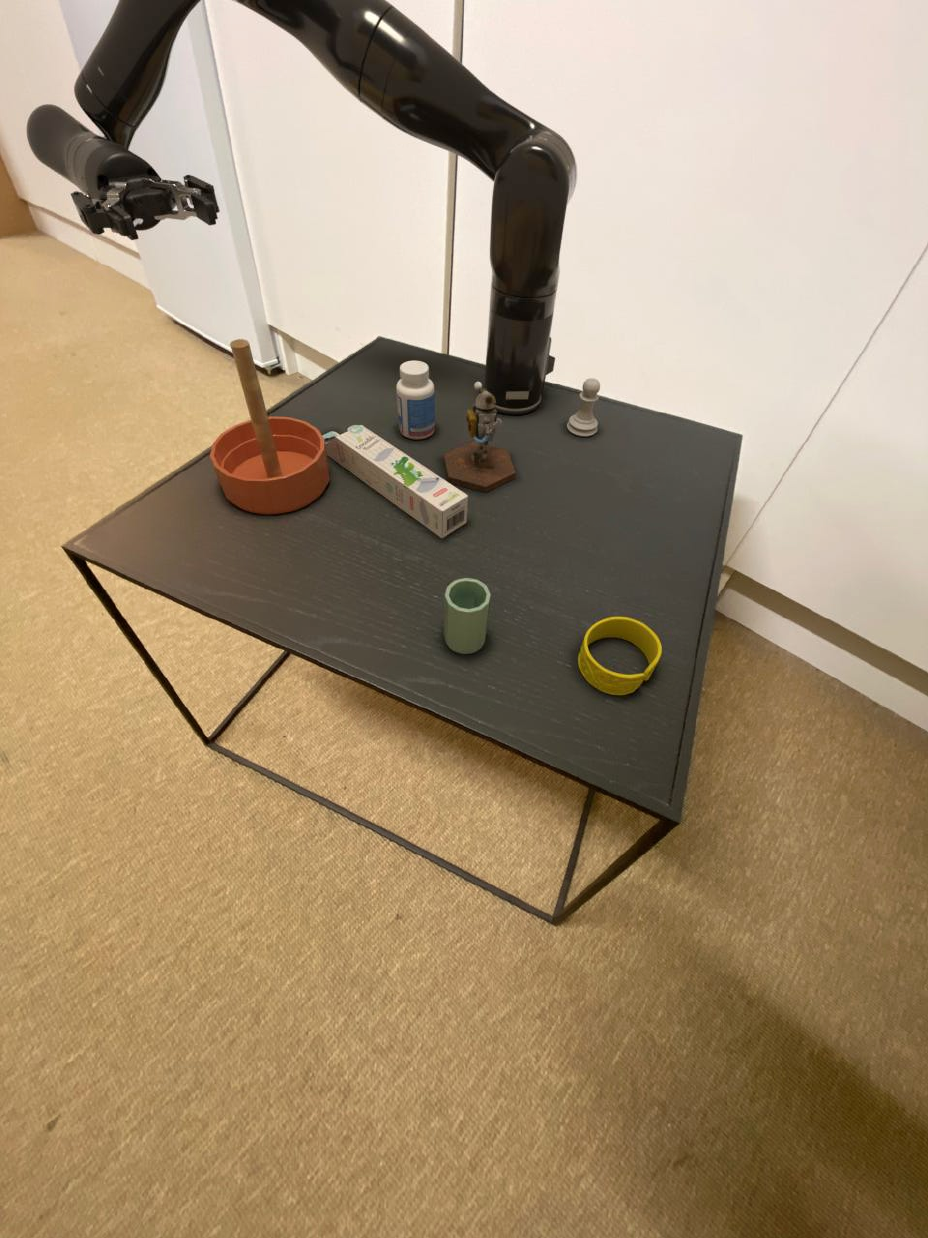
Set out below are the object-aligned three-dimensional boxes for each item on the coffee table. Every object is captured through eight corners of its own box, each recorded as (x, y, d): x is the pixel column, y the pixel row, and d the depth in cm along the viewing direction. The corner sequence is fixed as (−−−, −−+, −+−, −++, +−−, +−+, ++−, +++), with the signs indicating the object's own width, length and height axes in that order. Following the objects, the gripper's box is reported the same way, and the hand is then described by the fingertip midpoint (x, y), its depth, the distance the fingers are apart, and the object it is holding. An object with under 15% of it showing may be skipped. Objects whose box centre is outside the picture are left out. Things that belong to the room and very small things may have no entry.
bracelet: (562, 661, 59) (568, 642, 57) (611, 623, 63) (618, 604, 60) (617, 708, 56) (626, 690, 54) (665, 665, 60) (675, 646, 57)
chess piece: (602, 434, 87) (615, 384, 80) (575, 439, 85) (586, 389, 79) (587, 418, 89) (598, 368, 83) (561, 423, 88) (570, 373, 82)
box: (442, 538, 71) (309, 442, 82) (466, 522, 73) (333, 430, 84) (442, 511, 67) (303, 414, 79) (468, 495, 69) (329, 403, 81)
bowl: (286, 439, 83) (277, 404, 78) (352, 480, 77) (347, 445, 73) (201, 482, 76) (187, 447, 71) (267, 531, 70) (256, 496, 66)
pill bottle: (441, 428, 86) (442, 365, 79) (421, 444, 83) (419, 381, 76) (412, 416, 88) (410, 354, 80) (391, 432, 85) (387, 369, 77)
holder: (462, 615, 63) (465, 571, 57) (493, 636, 61) (499, 593, 56) (436, 638, 61) (436, 595, 55) (467, 661, 59) (470, 618, 54)
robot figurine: (519, 491, 77) (530, 411, 68) (451, 496, 76) (453, 414, 67) (503, 444, 84) (511, 365, 75) (441, 448, 83) (441, 368, 73)
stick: (282, 472, 77) (247, 337, 63) (284, 481, 76) (249, 345, 62) (266, 474, 76) (229, 339, 62) (268, 483, 75) (230, 348, 61)
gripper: (38, 151, 62) (85, 188, 54) (166, 136, 68) (225, 167, 60) (72, 231, 68) (119, 274, 60) (188, 210, 74) (244, 247, 66)
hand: (172, 221), depth 60 cm, fingers open, 8 cm apart
